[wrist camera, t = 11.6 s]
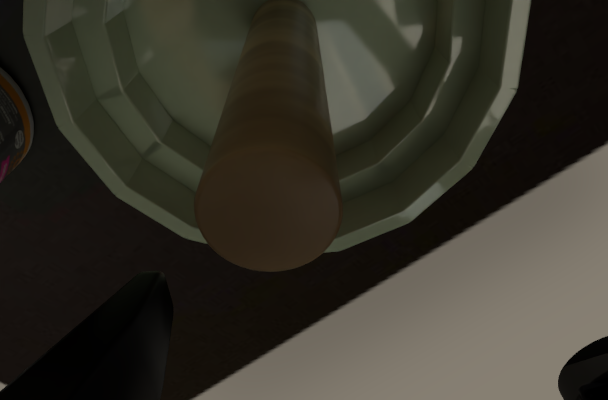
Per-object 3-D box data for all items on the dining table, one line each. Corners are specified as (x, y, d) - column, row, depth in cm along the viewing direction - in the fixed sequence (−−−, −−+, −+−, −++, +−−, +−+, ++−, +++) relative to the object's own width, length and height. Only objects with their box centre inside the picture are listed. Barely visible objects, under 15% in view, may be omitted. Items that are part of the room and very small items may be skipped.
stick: (326, 50, 19) (363, 250, 8) (266, 73, 19) (232, 289, 9) (303, -15, 17) (313, 126, 7) (240, 10, 18) (165, 178, 8)
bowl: (517, 100, 21) (575, 156, 16) (222, 231, 24) (206, 305, 20) (387, -338, 14) (427, -437, 10) (-1, -70, 17) (-98, -55, 13)
